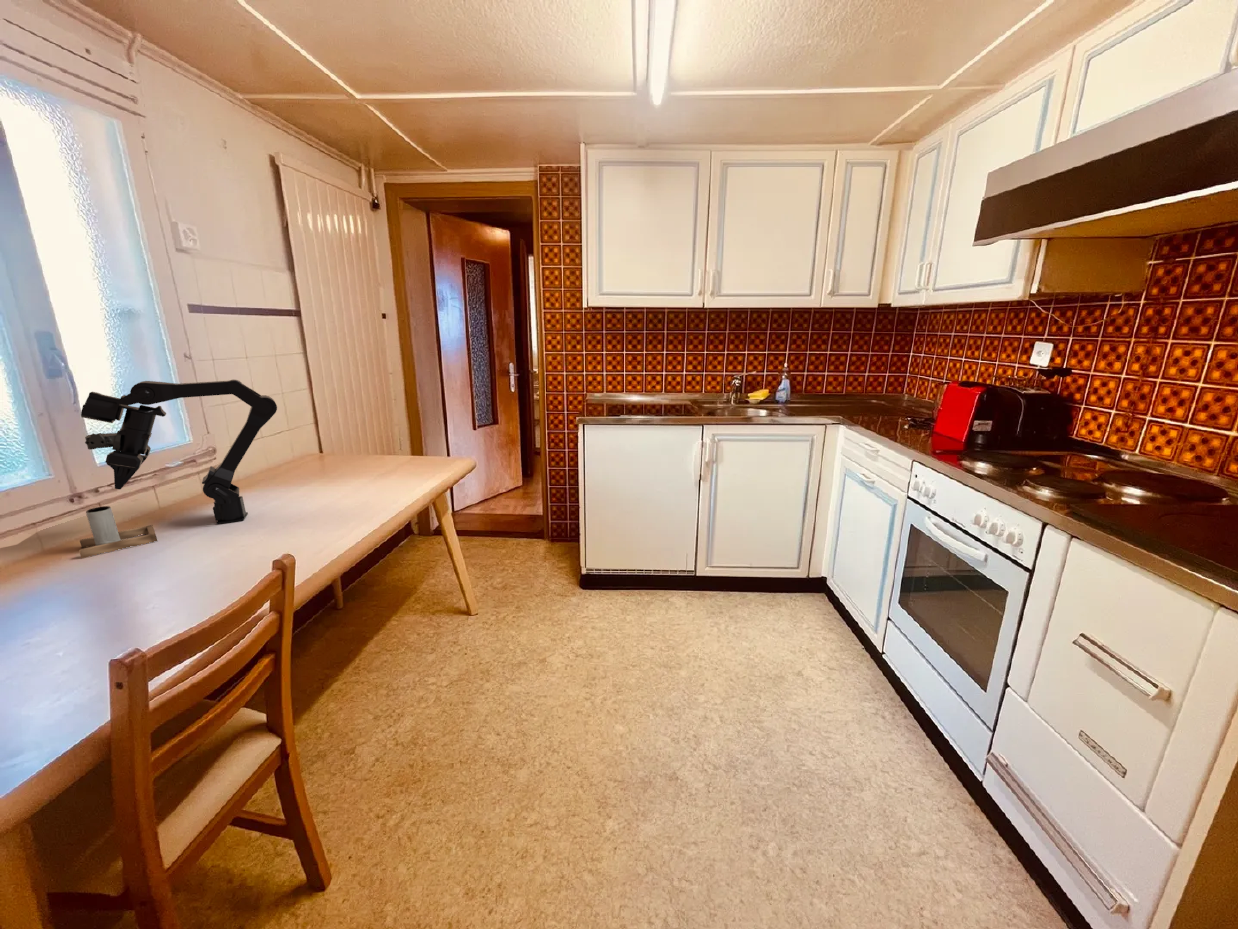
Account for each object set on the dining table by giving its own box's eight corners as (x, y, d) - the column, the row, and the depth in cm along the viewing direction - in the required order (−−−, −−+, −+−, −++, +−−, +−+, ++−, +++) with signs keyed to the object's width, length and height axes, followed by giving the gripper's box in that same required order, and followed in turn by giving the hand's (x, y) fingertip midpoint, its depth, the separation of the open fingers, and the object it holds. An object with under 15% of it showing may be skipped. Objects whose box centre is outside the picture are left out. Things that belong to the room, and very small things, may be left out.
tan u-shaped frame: (154, 531, 139) (152, 524, 139) (157, 541, 133) (155, 534, 132) (81, 547, 130) (79, 539, 129) (81, 558, 123) (79, 551, 122)
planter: (106, 550, 127) (94, 512, 124) (92, 549, 128) (80, 511, 125) (126, 543, 131) (115, 506, 129) (112, 542, 132) (101, 505, 130)
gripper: (101, 414, 134) (86, 470, 134) (84, 425, 119) (67, 487, 119) (157, 425, 141) (142, 478, 141) (147, 436, 126) (130, 495, 126)
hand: (121, 484), depth 132 cm, fingers open, 9 cm apart
